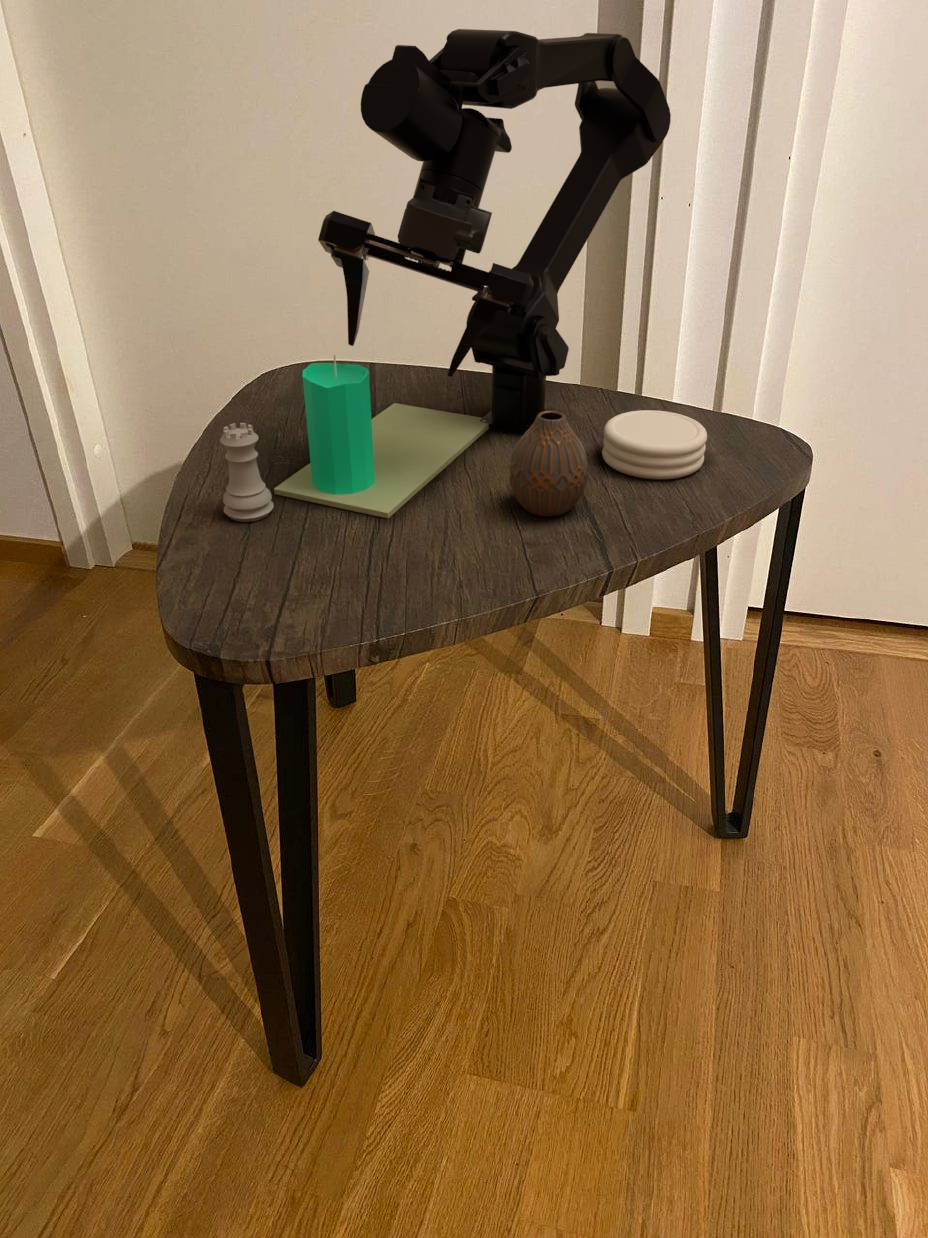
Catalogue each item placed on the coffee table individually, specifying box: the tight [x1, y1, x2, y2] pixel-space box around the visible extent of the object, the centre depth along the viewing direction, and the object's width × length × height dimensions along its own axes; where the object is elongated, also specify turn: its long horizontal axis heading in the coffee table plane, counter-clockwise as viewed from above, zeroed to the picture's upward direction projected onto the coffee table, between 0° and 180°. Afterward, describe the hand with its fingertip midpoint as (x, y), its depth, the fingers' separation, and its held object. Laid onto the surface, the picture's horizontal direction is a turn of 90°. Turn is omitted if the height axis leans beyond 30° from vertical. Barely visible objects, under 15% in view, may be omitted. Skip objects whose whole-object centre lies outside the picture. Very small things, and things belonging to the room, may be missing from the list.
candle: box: [301, 354, 375, 494], centre depth 89 cm, size 6×6×12 cm
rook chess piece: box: [219, 422, 275, 523], centre depth 86 cm, size 4×4×8 cm
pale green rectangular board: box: [273, 402, 492, 519], centre depth 98 cm, size 24×12×1 cm, turn 156°
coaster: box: [601, 409, 708, 480], centre depth 97 cm, size 10×10×4 cm
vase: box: [509, 410, 589, 518], centre depth 87 cm, size 7×7×9 cm
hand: (400, 360), depth 88 cm, fingers open, 9 cm apart
